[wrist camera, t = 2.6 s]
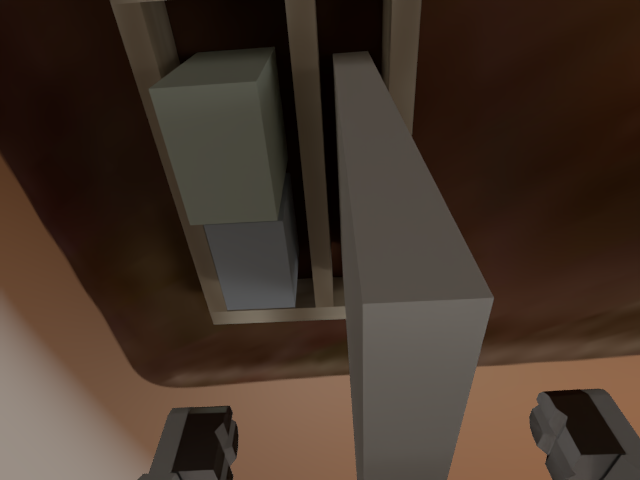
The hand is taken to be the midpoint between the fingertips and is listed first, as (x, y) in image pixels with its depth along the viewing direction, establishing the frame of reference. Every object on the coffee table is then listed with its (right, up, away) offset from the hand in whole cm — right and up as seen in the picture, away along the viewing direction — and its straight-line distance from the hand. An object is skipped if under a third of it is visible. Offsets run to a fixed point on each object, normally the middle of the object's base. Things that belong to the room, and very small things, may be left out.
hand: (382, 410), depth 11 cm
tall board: (0, +9, +13) cm, 16 cm away
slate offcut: (-5, +6, +15) cm, 17 cm away
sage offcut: (-6, +12, +11) cm, 17 cm away
